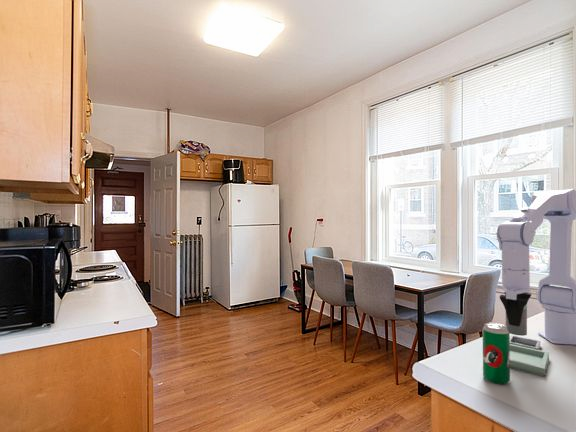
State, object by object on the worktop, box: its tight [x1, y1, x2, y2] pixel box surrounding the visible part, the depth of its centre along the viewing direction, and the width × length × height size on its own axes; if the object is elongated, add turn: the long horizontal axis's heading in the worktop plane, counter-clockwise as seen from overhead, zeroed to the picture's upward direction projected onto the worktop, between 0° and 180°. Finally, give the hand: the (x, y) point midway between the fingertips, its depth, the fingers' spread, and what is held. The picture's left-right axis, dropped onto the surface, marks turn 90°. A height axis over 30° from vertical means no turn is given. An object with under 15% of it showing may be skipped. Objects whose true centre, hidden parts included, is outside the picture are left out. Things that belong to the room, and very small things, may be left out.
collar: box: [510, 334, 541, 350], centre depth 90 cm, size 7×7×2 cm
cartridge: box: [505, 305, 528, 337], centre depth 81 cm, size 4×4×7 cm
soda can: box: [482, 322, 511, 385], centre depth 72 cm, size 5×5×12 cm
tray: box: [510, 344, 550, 378], centre depth 81 cm, size 12×12×2 cm
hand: (516, 322), depth 81 cm, fingers closed on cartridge, 4 cm apart
